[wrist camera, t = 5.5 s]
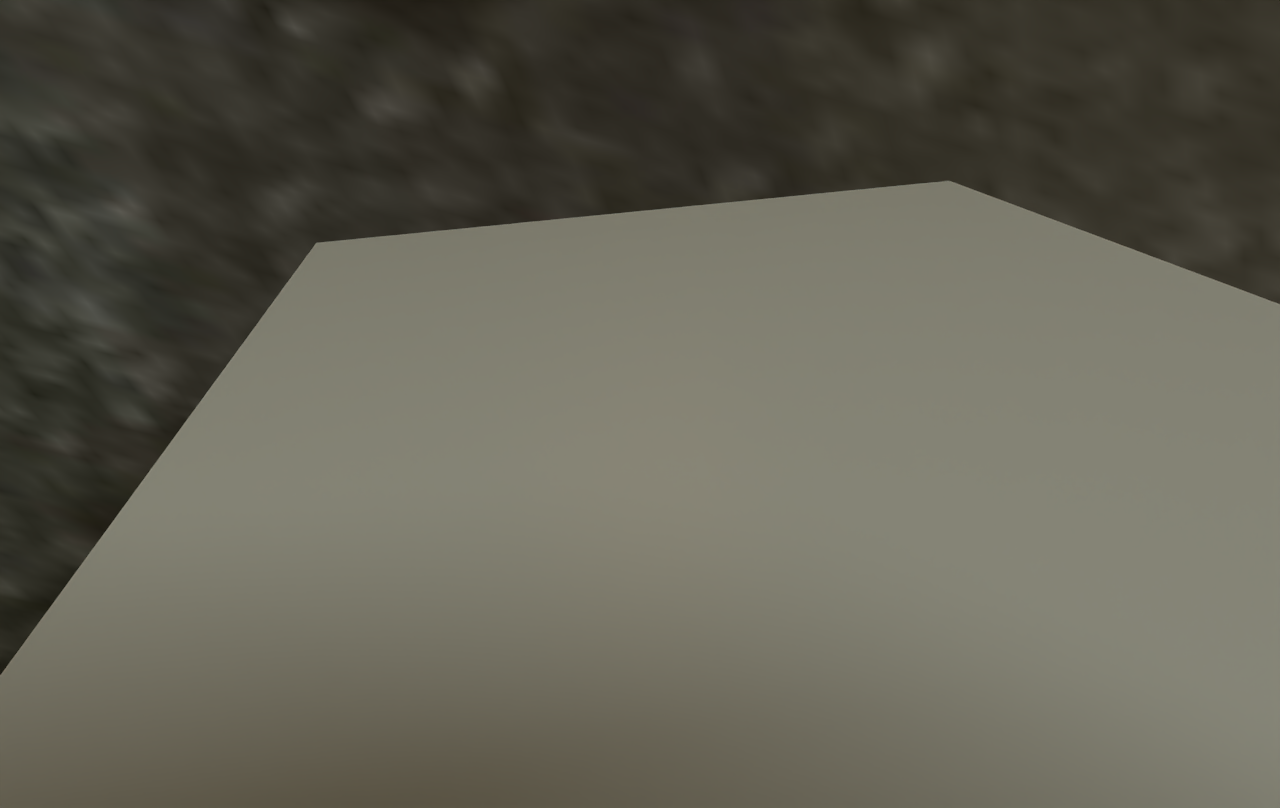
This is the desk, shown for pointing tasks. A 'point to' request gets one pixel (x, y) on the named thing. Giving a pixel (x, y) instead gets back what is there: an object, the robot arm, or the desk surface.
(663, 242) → the plain beige cube
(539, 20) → the desk surface
